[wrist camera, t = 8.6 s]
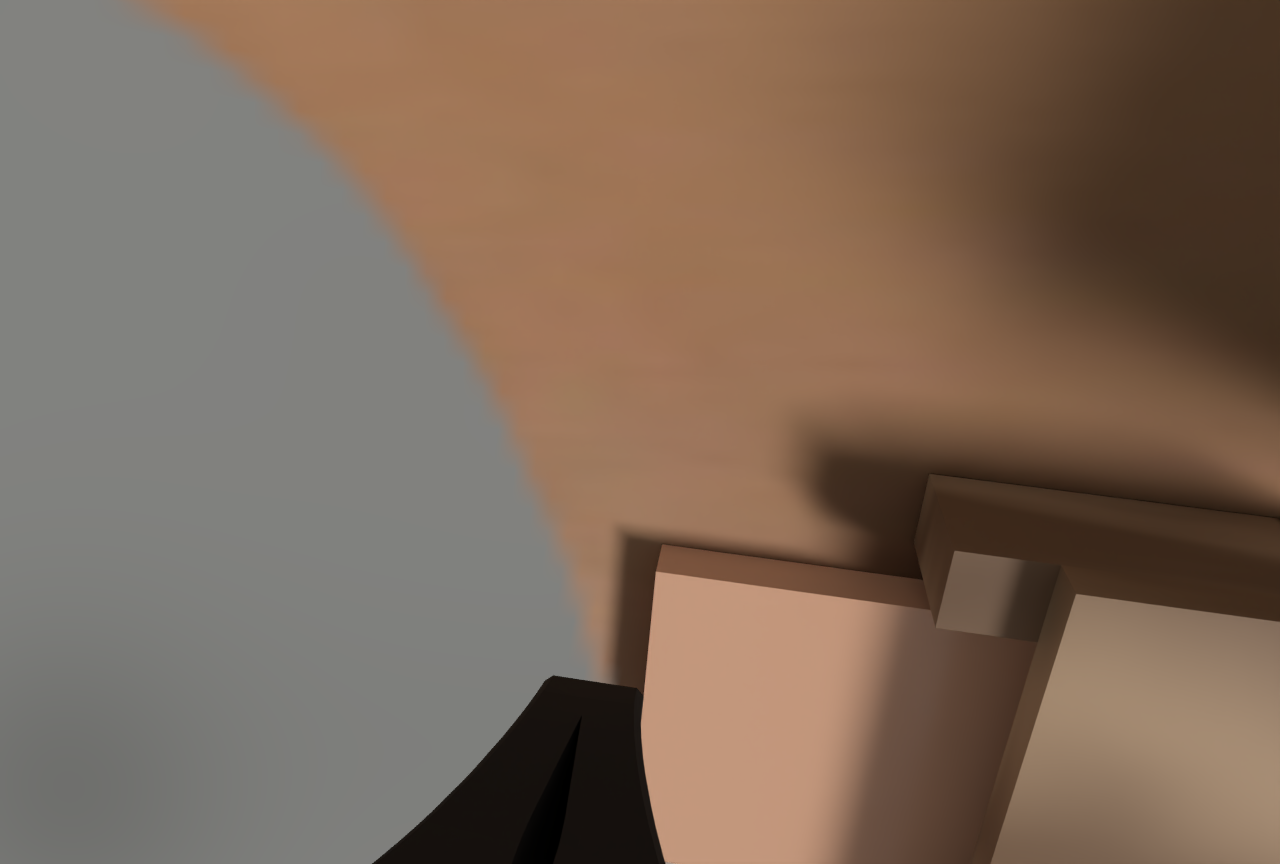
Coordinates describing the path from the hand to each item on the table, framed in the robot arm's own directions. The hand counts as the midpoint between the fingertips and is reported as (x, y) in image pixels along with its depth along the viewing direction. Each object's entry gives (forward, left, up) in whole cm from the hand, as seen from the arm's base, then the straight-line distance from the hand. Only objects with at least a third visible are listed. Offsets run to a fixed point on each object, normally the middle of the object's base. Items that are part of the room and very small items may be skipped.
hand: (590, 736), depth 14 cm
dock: (-7, -10, -9) cm, 15 cm away
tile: (-7, -6, -10) cm, 14 cm away
